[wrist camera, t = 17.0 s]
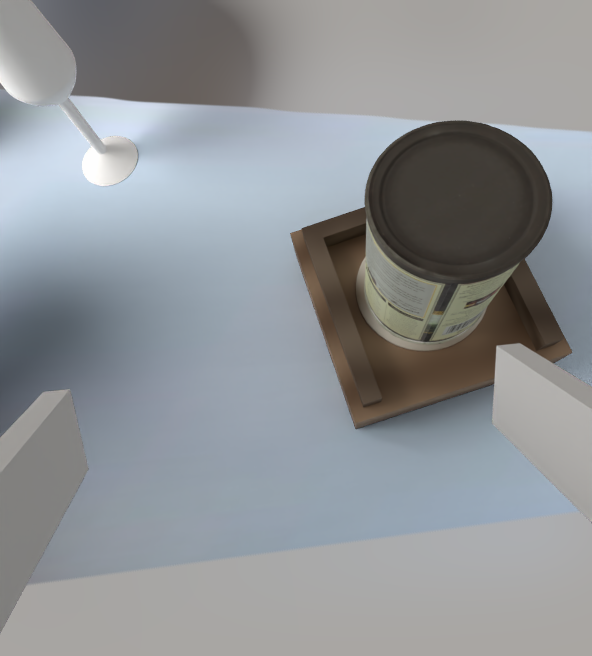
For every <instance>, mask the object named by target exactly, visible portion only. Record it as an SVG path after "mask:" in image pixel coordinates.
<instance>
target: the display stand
mask: <svg viewBox="0 0 592 656" xmlns="http://www.w3.org/2000/svg"><path fill="white" fill-rule="evenodd" d="M366 219H367V217H366V211H365V207H364V208H361V209H358V210H355V211H352V212H349V213H346V214H343V215H340V216H337V217H334V218H331V219H328V220H325V221H322V222H319V223H316V224H313V225H310V226H307V227H304V228H301V229H302V230H299V231H296V232H293V233H290V234H291V238H292V242H293V245H294V249H295V253H296V256H297V259H298V262H299V265H300V268H301V271H302V274H303V277H304V280H305V283H306V286H307V289H308V291H309V294H310V297H311V300H312V303H313V306H314V309H315V312H316V315H317V318H318V321H319V324H320V327H321V329H322V332H323V335H324V338H325V341H326V344H327V347H328V350H329V353H330V356H331V359H332V362H333V365H334V367H335V370H336V373H337V376H338V379H339V382H340V385H341V388H342V391H343V394H344V397H345V400H346V402H347V405H348V408H349V411H350V414H351V417H352V420H353V423H354V426H355V429H358V428H361V427H364V426H367V425H370V424H373V423H376V422H379V421H382V420H385V419H388V418H391V417H394V416H398V415H401V414H404V413H407V412H410V411H413V410H416V409H419V408H422V407H425V406H428V405H431V404H434V403H437V402H440V401H443V400H446V399H450V398H453V397H456V396H459V395H462V394H465V393H468V392H471V391H474V390H477V389H480V388H483V387H486V386H489V385H492V384H494V380H495V363H496V347H497V345H507V344H517V343H520V344H522V345H524V346H525V347H527V348H529V349H530V350H532V351H533V352H535V353H537V354H538V355H540V356H542V357H543V358H545V359H547V360H548V361H550V362H552V363H555V362H557V361H558V360H560V359H562V358H564V357H565V356H567V355H569V354H571V353H572V351H571V349H570V347H569V345H568V343H567V341H566V339H565V337H564V335H563V333H562V331H561V329H560V327H559V325H558V323H557V321H556V319H555V318H554V316H553V314H552V312H551V310H550V308H549V306H548V304H547V302H546V300H545V298H544V296H543V294H542V292H541V290H540V288H539V286H538V284H537V282H536V280H535V279H534V277H533V275H532V273H531V271H530V269H529V267H528V265H527V263H526V261H525V259H524V260H522V261H521V262H520V263H519V265H518V266H517V267H516V269H515V270H514V271H513V273H512V274H511V275H510V277H509V278H508V279H507V281H506V282H505V283H504V285H503V286H502V287H501V289H500V290H499V291H498V293H497V294H496V295H495V297H494V298H493V300H492V301H491V302H490V303H489V305H488V306H487V307H486V309H485V310H484V311H483V313H482V315H481V317H480V318H479V320H478V321H477V322H476V323H475V325H474V326H473V327H471V328H470V329H469V330H468V331H467V332H466V333H464V334H463V335H461V336H459V337H457V338H455V339H453V340H450V341H448V342H444V343H441V344H431V345H423V344H415V343H411V342H408V341H404V340H402V339H400V338H398V337H395V336H393V335H392V334H391V333H389V332H388V331H387V330H385V329H384V328H383V327H382V326H381V325H380V324H379V323H378V322H377V321H376V320H375V318H374V317H373V315H372V314H371V312H370V310H369V308H368V305H367V303H366V300H365V294H364V279H365V265H366Z"/></svg>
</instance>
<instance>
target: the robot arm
mask: <svg viewBox="0 0 592 656" xmlns="http://www.w3.org/2000/svg"><path fill="white" fill-rule="evenodd" d="M492 424H493V425H494V426H495V427H496V428H497V429H498V430H499V431H500V432H501V433H502V434H503V435H504V436H505V437H506V438H507V439H508V440H509V441H510V442H511V443H512V444H513V445H514V446H515V447H516V448H517V449H518V450H519V451H520V452H521V453H522V454H523V455H524V456H525V457H526V458H527V459H528V460H529V461H530V462H531V463H532V464H533V465H534V466H535V467H536V468H537V469H538V470H539V471H540V472H541V473H542V474H543V475H544V476H545V477H546V478H547V479H548V480H549V481H550V482H551V483H552V484H553V485H554V486H555V487H556V488H557V489H558V490H559V491H560V492H561V493H562V494H563V495H564V496H565V497H566V498H567V499H568V500H569V501H570V502H571V503H572V504H573V505H574V506H575V507H576V508H577V509H578V510H579V511H580V512H581V513H582V514H583V515H584V516H585V517H586V518H587V519H588V520H589V521H590V522H591V523H592V387H591V386H590V385H588V384H586V383H585V382H583V381H581V380H580V379H578V378H576V377H575V376H573V375H571V374H570V373H568V372H566V371H565V370H563V369H562V368H560V367H558V366H557V365H555V364H553V363H552V362H550V361H548V360H547V359H545V358H543V357H542V356H540V355H538V354H537V353H535V352H533V351H532V350H530V349H529V348H527V347H525V346H524V345H522V344H520V343H517V344H507V345H497V347H496V363H495V380H494V397H493V413H492ZM87 471H88V465H87V460H86V456H85V452H84V447H83V443H82V439H81V434H80V430H79V426H78V421H77V417H76V413H75V408H74V404H73V400H72V395H71V391H70V389H65V390H56V391H46V392H43V393H42V394H41V395H40V396H39V397H38V398H37V399H36V400H35V401H34V402H33V403H32V404H31V405H30V407H29V408H28V409H27V410H26V411H25V412H24V413H23V414H22V415H21V416H20V417H19V418H18V419H17V420H16V421H15V422H14V423H13V425H12V426H11V427H10V428H9V429H8V430H7V431H6V432H5V433H4V434H3V435H2V436H1V437H0V633H1V631H2V629H3V627H4V626H5V623H6V622H7V620H8V618H9V616H10V614H11V612H12V611H13V609H14V607H15V605H16V603H17V601H18V599H19V598H20V596H21V594H22V592H23V590H24V588H25V586H26V585H27V583H28V581H29V579H30V577H31V575H32V573H33V572H34V570H35V568H36V566H37V564H38V562H39V560H40V559H41V557H42V555H43V553H44V551H45V549H46V547H47V546H48V544H49V542H50V540H51V538H52V536H53V534H54V533H55V531H56V529H57V527H58V525H59V523H60V521H61V520H62V518H63V516H64V514H65V512H66V510H67V508H68V507H69V505H70V503H71V501H72V499H73V497H74V495H75V494H76V492H77V490H78V488H79V486H80V484H81V482H82V481H83V479H84V477H85V475H86V473H87Z"/></svg>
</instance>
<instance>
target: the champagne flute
mask: <svg viewBox="0 0 592 656" xmlns="http://www.w3.org/2000/svg"><path fill="white" fill-rule="evenodd" d="M76 72H77V71H76V61H75V58H74V55H73V53H72V51H71V49H70V48H69V47H68V45H67V44H66V43H65V42H64V40H63V39H62V38H61V37H60V36H59V34H58V33H57V32H56V31H55V29H54V28H53V27H52V26H51V24H50V23H49V22H48V21H47V19H46V18H45V17H44V16H43V15H42V13H41V12H40V11H39V10H38V8H37V7H36V6H35V5H34V4H33V2H32V1H31V0H0V83H1V84H2V85H3V87H4V88H5V89H6V91H7V92H8V93H9V94H10V95H11V96H13V97H14V98H15V99H17V100H19V101H21V102H24V103H27V104H30V105H35V106H53V105H59V106H60V107H61V109H62V110H63V111H64V112H65V114H66V115H67V116H68V117H69V119H70V120H71V121H72V122H73V123H74V125H75V126H76V127H77V128H78V130H79V131H80V132H81V133H82V135H83V136H84V137H85V138H86V140H87V141H88V142H89V143H90V145H91V147H90V148H89V150H88V151H87V152H86V154H85V156H84V159H83V163H82V169H83V173H84V175H85V177H86V178H87V179H88V180H89V181H90V182H91V183H93V184H96V185H99V186H110V185H114V184H117V183H119V182H121V181H123V180H124V179H126V178H127V177H128V176H129V175H130V174H131V173H132V171H133V170H134V168H135V166H136V164H137V160H138V152H137V149H136V146H135V145H134V144H133V142H131V141H130V140H129V139H127V138H125V137H121V136H110V137H106V138H103V139H101V140H100V138H99V137H98V136H97V135H96V133H95V132H94V131H93V129H92V128H91V127H90V125H89V124H88V123H87V121H86V120H85V119H84V118H83V116H82V115H81V114H80V112H79V111H78V110H77V108H76V107H75V106H74V104H73V103H72V102H71V100H70V99H69V96H70V94H71V92H72V89H73V87H74V85H75V81H76Z"/></svg>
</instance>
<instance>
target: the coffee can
mask: <svg viewBox="0 0 592 656" xmlns="http://www.w3.org/2000/svg"><path fill="white" fill-rule="evenodd" d="M365 211H366V217H367V219H366V265H365V279H364V294H365V300H366V303H367V305H368V308H369V310H370V312H371V314H372V315H373V317H374V318H375V320H376V321H377V322H378V323H379V324H380V325H381V326H382V327H383V328H384V329H385V330H387V331H388V332H389V333H391V334H392V335H393V336H395V337H398V338H400V339H402V340H404V341H408V342H411V343H415V344H423V345H431V344H441V343H444V342H448V341H450V340H453V339H455V338H457V337H459V336H461V335H463V334H464V333H466V332H467V331H468V330H469V329H470V328H471V327H473V326H474V325H475V323H476V322H477V321H478V320H479V318H480V317H481V315H482V313H483V311H484V310H485V309H486V307H487V306H488V305H489V303H490V302H491V301H492V300H493V298H494V297H495V295H496V294H497V293H498V291H499V290H500V289H501V287H502V286H503V285H504V283H505V282H506V281H507V279H508V278H509V277H510V275H511V274H512V273H513V271H514V270H515V269H516V267H517V266H518V265H519V263H520V262H521V261H522V260H524V259H525V258H526V257H527V256H528V255H529V254H530V253H531V252H532V250H533V249H534V248H535V247H536V246H537V244H538V243H539V242H540V240H541V239H542V237H543V235H544V233H545V231H546V229H547V226H548V223H549V220H550V217H551V212H552V191H551V187H550V183H549V180H548V177H547V175H546V173H545V171H544V169H543V167H542V165H541V163H540V161H539V160H538V159H537V157H536V156H535V155H534V154H533V152H532V151H531V150H530V149H529V148H528V147H527V146H526V145H524V144H523V143H522V142H520V141H519V140H518V139H516V138H515V137H513V136H512V135H510V134H508V133H506V132H504V131H502V130H500V129H498V128H495V127H491V126H489V125H486V124H482V123H477V122H470V121H444V122H436V123H432V124H428V125H425V126H422V127H420V128H417V129H414V130H412V131H410V132H408V133H406V134H404V135H403V136H401V137H400V138H398V139H397V140H395V141H394V142H393V143H392V144H391V145H389V146H388V147H387V148H386V150H385V151H384V152H383V153H382V154H381V155H380V156H379V158H378V159H377V161H376V162H375V164H374V166H373V168H372V170H371V172H370V174H369V177H368V180H367V184H366V189H365Z"/></svg>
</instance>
